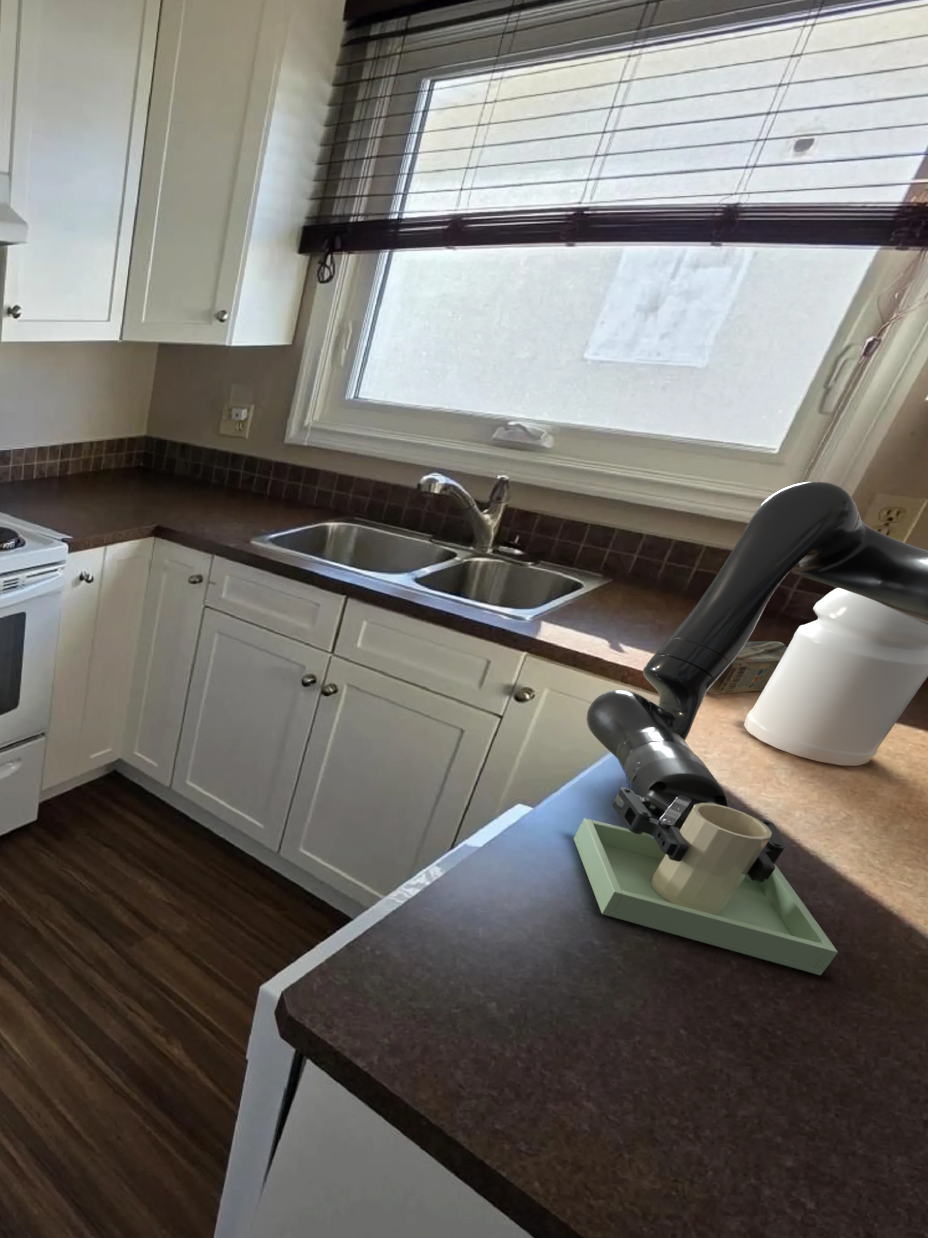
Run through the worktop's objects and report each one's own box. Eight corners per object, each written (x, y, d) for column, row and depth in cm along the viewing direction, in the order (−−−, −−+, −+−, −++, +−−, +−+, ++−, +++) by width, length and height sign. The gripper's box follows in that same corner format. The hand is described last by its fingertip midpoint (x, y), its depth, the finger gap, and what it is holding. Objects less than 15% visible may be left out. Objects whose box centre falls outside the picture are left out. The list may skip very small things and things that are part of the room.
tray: (761, 886, 89) (775, 864, 88) (820, 975, 77) (838, 952, 76) (573, 838, 96) (583, 817, 94) (601, 914, 84) (614, 891, 83)
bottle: (730, 711, 128) (826, 542, 115) (847, 735, 122) (961, 560, 109) (757, 749, 117) (866, 567, 104) (887, 778, 111) (1019, 589, 98)
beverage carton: (802, 690, 136) (823, 655, 133) (713, 697, 132) (733, 661, 129) (751, 669, 143) (770, 636, 140) (666, 676, 139) (683, 641, 136)
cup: (711, 887, 88) (758, 813, 83) (731, 922, 83) (782, 845, 78) (643, 869, 90) (685, 796, 85) (658, 902, 85) (704, 827, 81)
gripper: (732, 827, 94) (792, 916, 81) (585, 792, 100) (619, 870, 86) (765, 774, 91) (833, 857, 77) (611, 741, 96) (650, 814, 83)
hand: (720, 864), depth 82 cm, fingers closed on cup, 6 cm apart
